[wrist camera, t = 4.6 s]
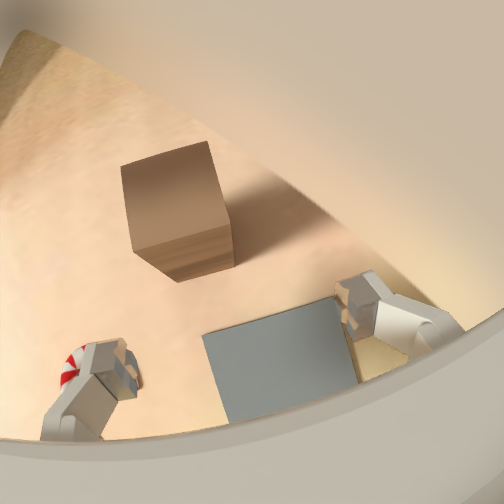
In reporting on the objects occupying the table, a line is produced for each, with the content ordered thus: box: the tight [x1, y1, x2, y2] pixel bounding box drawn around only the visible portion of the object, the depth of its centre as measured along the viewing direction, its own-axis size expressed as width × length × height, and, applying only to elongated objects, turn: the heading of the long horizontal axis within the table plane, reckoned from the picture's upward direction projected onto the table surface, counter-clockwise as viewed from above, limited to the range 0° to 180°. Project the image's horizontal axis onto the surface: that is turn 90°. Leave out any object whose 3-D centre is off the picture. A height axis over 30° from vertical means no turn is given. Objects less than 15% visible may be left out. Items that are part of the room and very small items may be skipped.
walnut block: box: [121, 141, 235, 283], centre depth 18 cm, size 4×4×10 cm
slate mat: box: [202, 296, 358, 424], centre depth 21 cm, size 10×10×1 cm
